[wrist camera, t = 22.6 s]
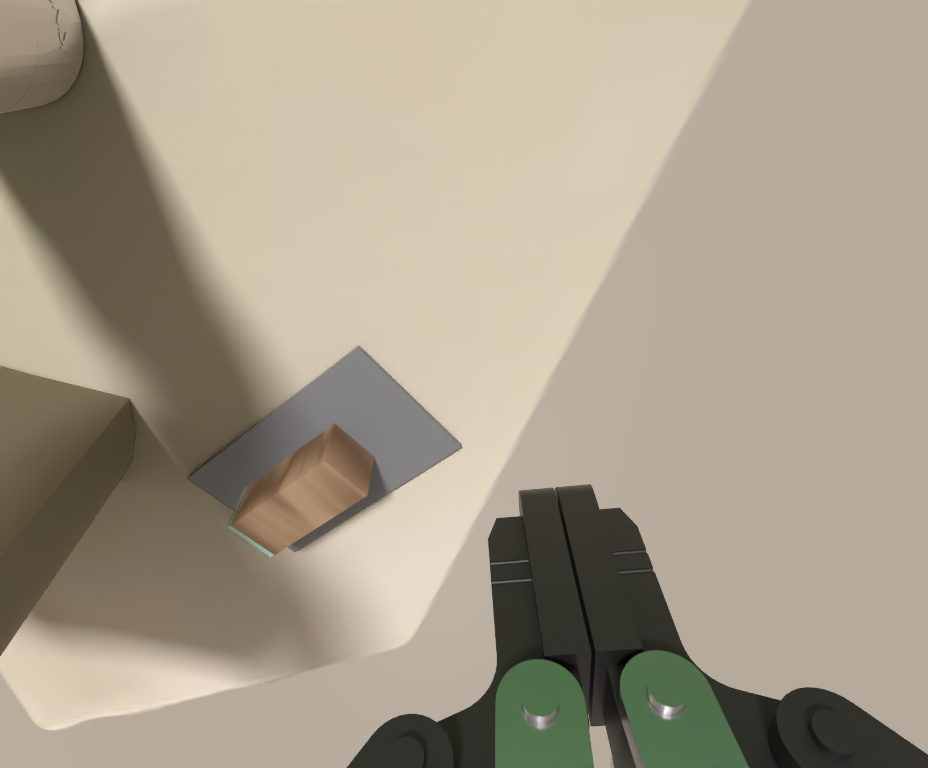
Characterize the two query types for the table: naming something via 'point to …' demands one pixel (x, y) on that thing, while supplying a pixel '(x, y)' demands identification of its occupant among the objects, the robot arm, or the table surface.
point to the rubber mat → (357, 413)
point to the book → (52, 479)
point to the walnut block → (303, 492)
